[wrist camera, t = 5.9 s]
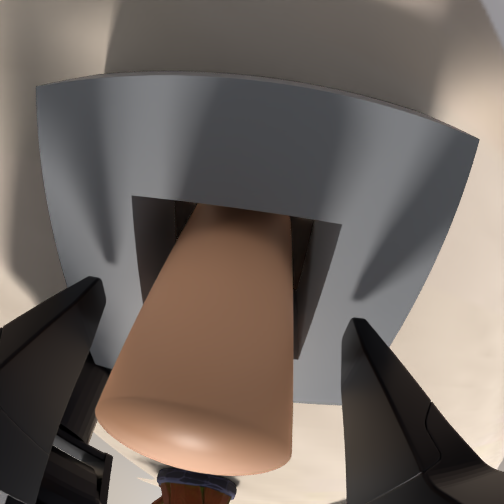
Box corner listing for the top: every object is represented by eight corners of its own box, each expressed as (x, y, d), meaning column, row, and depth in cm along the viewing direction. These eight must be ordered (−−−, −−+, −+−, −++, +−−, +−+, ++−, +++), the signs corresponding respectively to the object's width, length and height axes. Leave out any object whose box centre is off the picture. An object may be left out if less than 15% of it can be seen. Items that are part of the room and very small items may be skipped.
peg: (282, 272, 14) (272, 482, 6) (192, 259, 14) (120, 452, 6) (299, 188, 12) (317, 420, 4) (194, 174, 12) (67, 370, 4)
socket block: (342, 342, 16) (349, 405, 13) (124, 308, 16) (95, 364, 13) (422, 112, 9) (479, 139, 6) (103, 73, 10) (36, 86, 6)
